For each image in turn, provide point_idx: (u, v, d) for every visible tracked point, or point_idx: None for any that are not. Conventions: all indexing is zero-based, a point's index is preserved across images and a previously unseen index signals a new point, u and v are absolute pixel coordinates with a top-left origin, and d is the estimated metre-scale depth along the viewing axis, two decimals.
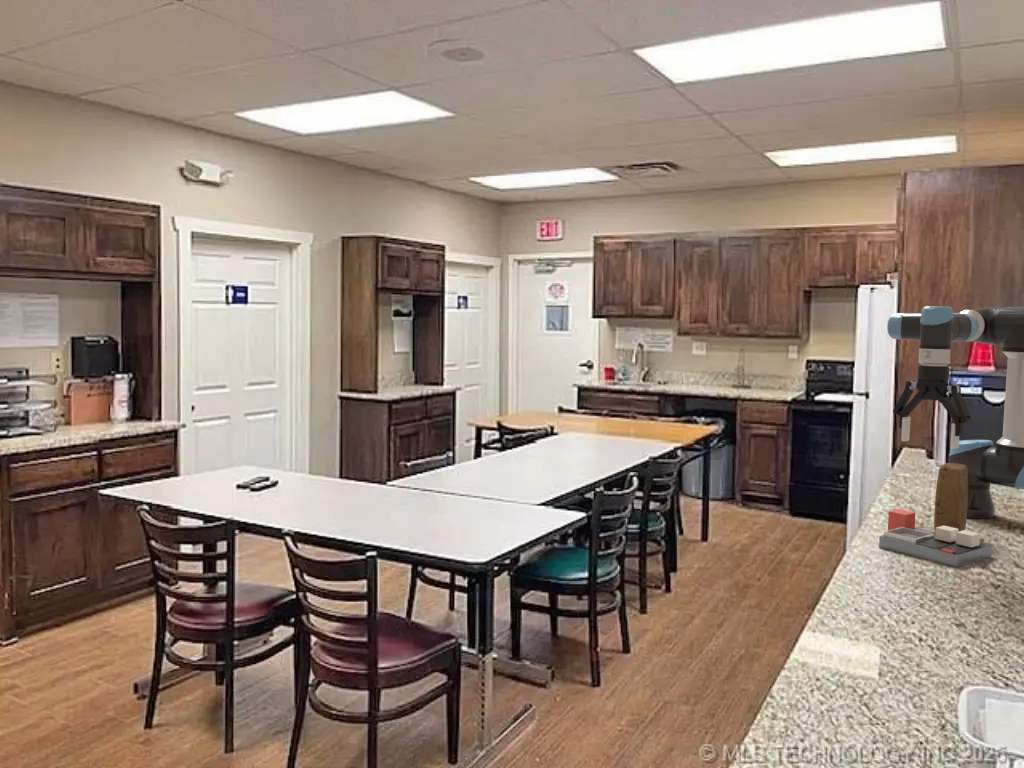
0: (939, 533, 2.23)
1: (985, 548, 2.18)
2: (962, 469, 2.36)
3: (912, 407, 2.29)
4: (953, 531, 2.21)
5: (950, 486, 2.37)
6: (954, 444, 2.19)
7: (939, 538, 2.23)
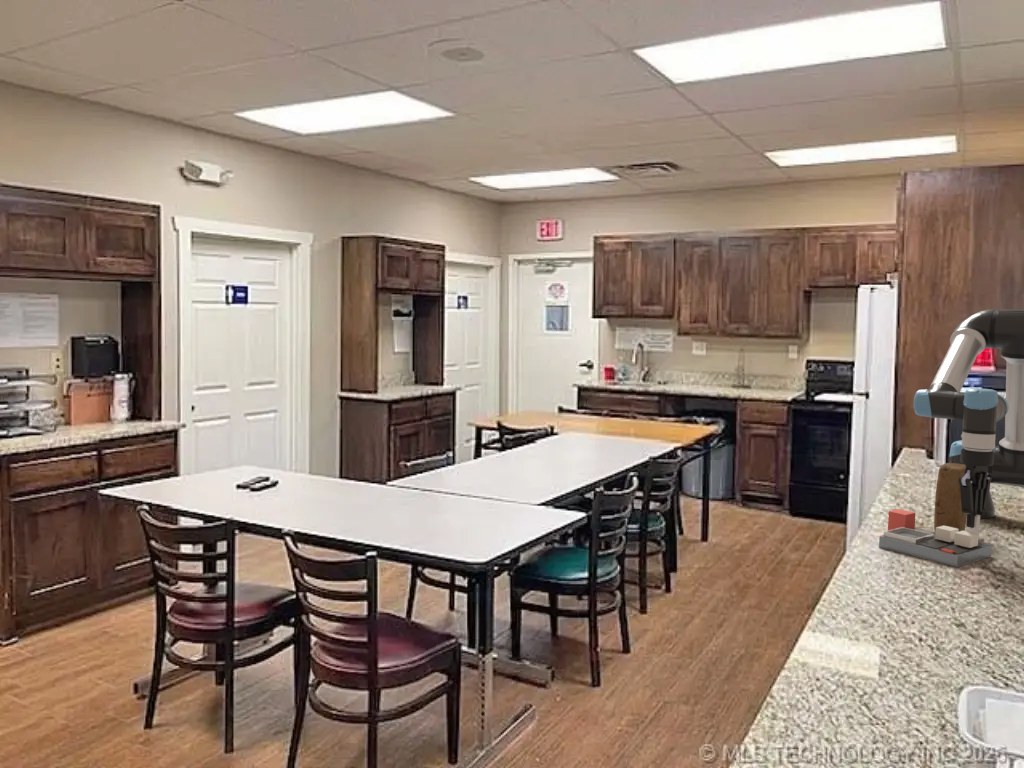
0: (939, 533, 2.23)
1: (985, 548, 2.18)
2: (962, 469, 2.36)
3: None
4: (953, 531, 2.21)
5: (950, 486, 2.37)
6: None
7: (939, 538, 2.23)
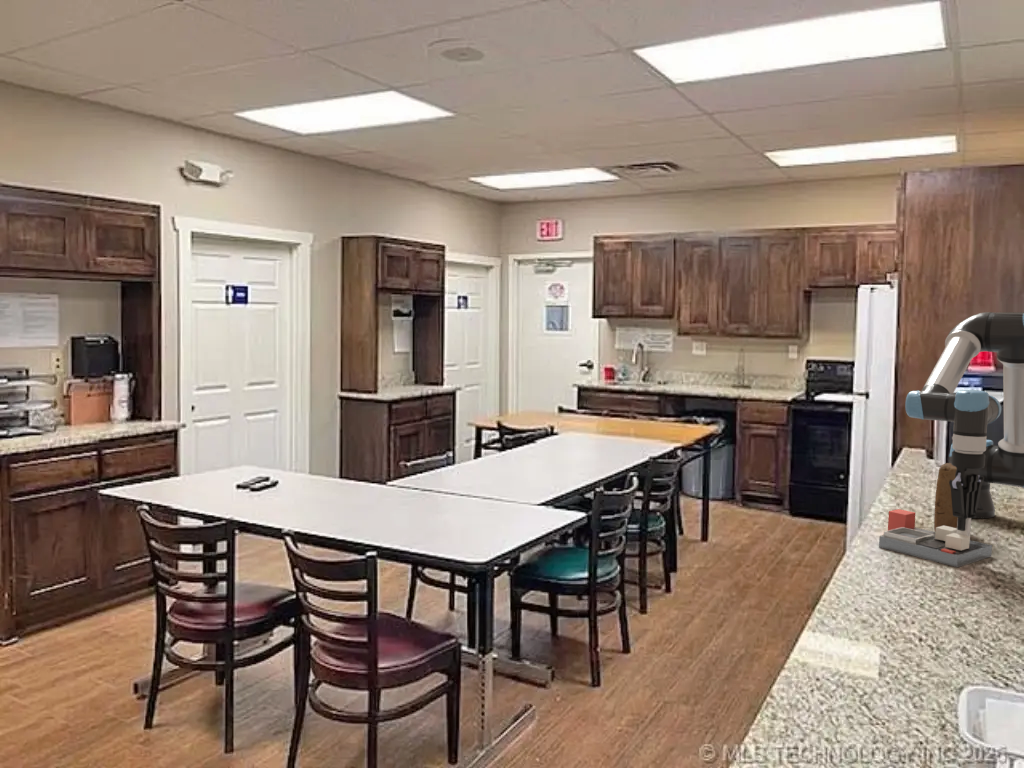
0: (939, 533, 2.23)
1: (985, 548, 2.18)
2: None
3: None
4: (953, 531, 2.21)
5: None
6: None
7: (939, 538, 2.23)
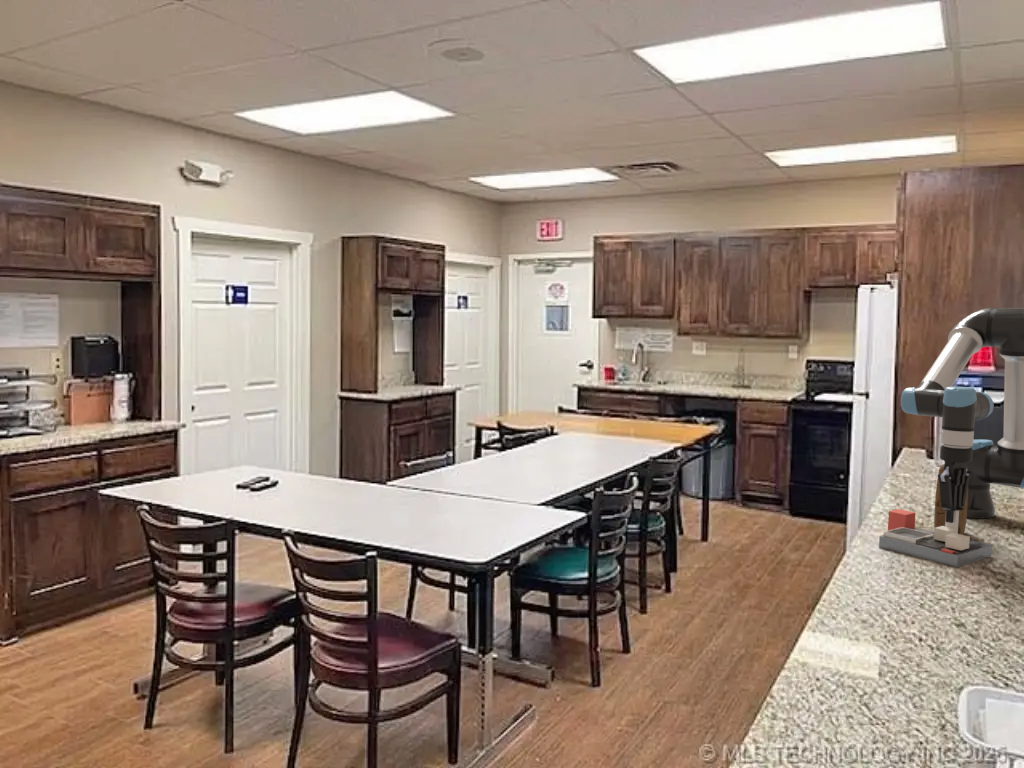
0: (938, 533, 2.22)
1: (985, 548, 2.18)
2: None
3: None
4: (952, 531, 2.21)
5: None
6: None
7: (938, 538, 2.22)
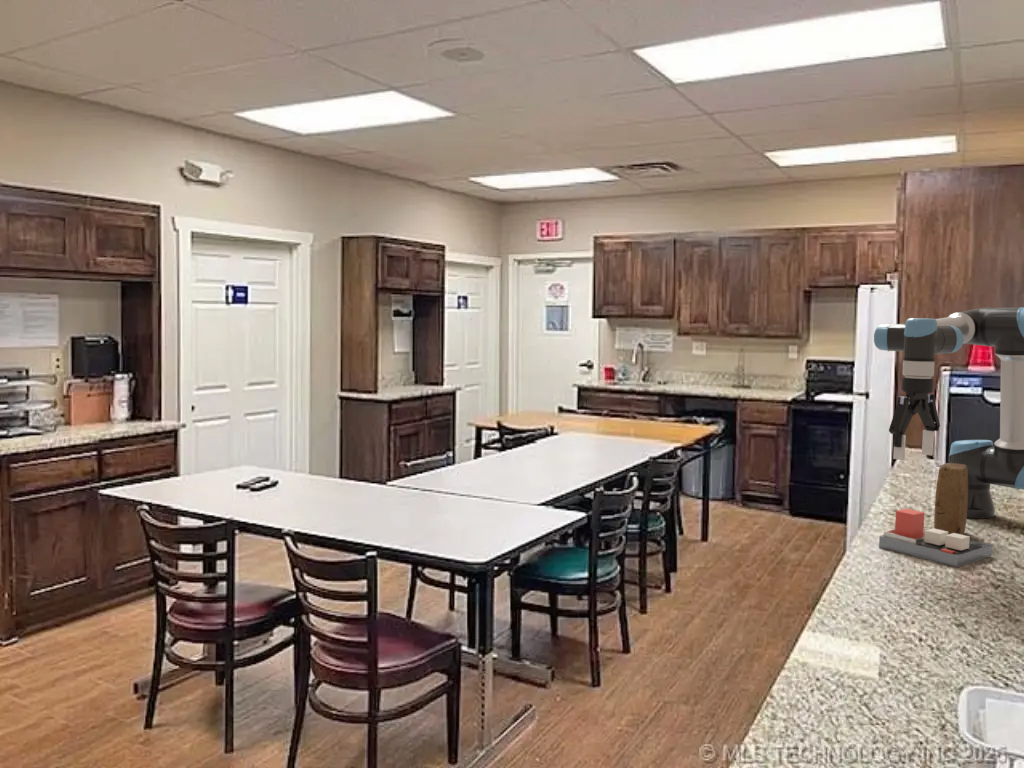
0: (928, 536, 2.20)
1: (985, 548, 2.18)
2: (962, 469, 2.36)
3: (924, 420, 2.27)
4: (942, 534, 2.18)
5: (950, 486, 2.37)
6: (895, 455, 2.21)
7: (928, 541, 2.20)
